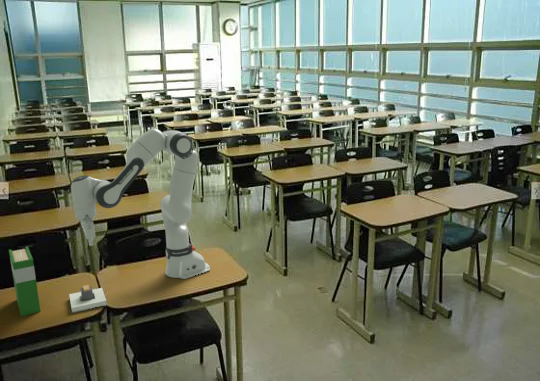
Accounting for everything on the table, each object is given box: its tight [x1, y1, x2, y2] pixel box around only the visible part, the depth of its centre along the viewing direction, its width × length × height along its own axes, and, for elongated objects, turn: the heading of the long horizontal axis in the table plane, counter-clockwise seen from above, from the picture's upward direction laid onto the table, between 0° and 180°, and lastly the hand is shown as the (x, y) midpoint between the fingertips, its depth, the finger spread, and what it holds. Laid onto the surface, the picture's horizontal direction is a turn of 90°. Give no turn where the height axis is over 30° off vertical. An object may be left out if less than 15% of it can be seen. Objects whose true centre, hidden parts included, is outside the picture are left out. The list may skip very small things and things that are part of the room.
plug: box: [80, 284, 93, 301], centre depth 206 cm, size 4×5×7 cm
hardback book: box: [8, 245, 41, 317], centre depth 202 cm, size 18×7×24 cm, turn 33°
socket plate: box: [68, 287, 108, 314], centre depth 207 cm, size 14×14×2 cm
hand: (89, 241), depth 209 cm, fingers open, 8 cm apart
